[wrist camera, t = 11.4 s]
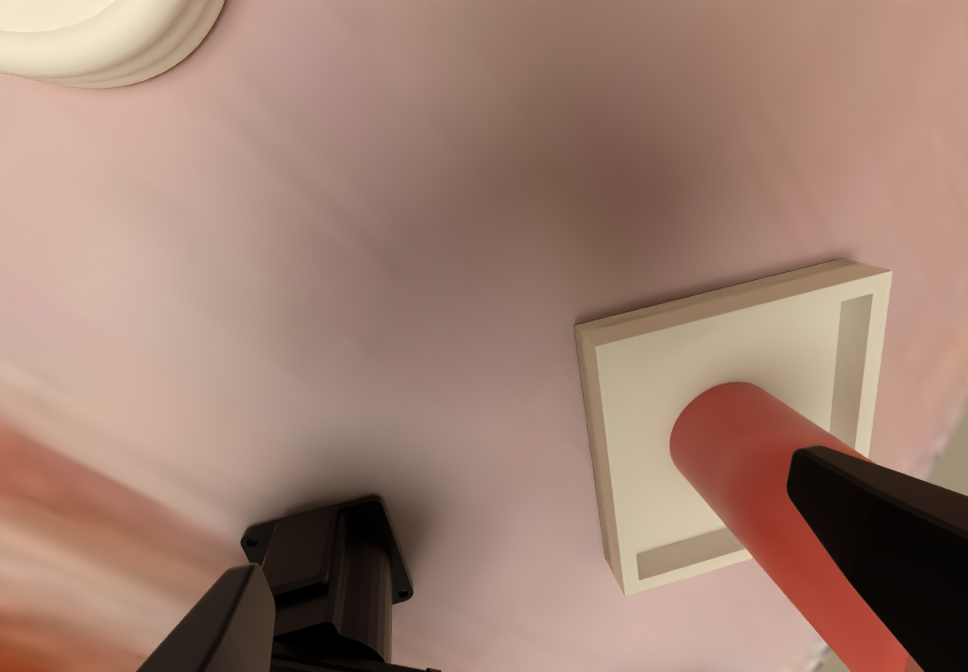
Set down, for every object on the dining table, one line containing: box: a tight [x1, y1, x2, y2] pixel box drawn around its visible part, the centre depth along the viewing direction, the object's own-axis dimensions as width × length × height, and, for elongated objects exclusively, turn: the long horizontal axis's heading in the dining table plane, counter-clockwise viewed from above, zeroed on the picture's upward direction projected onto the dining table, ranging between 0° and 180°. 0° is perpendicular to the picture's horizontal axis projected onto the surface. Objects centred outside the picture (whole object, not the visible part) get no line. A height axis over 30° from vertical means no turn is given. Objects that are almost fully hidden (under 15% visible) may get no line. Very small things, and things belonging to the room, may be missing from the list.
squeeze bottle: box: [669, 382, 924, 672], centre depth 17 cm, size 6×6×15 cm
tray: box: [574, 259, 893, 596], centre depth 23 cm, size 14×13×2 cm
